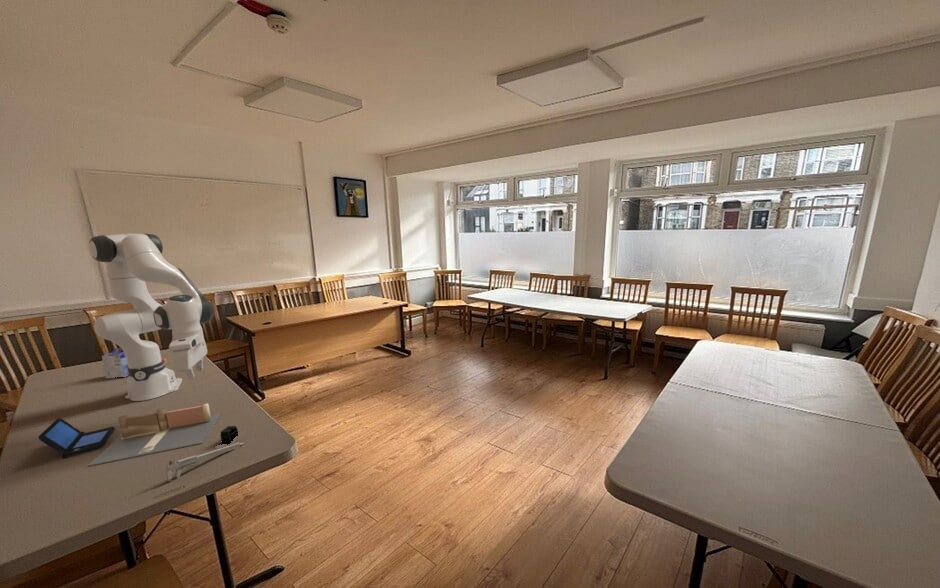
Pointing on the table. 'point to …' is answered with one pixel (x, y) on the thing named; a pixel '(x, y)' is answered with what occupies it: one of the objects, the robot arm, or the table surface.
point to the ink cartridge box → (115, 364)
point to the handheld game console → (73, 438)
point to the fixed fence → (143, 423)
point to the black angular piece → (228, 435)
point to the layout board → (156, 441)
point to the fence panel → (188, 416)
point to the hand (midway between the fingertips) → (195, 374)
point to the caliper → (194, 460)
